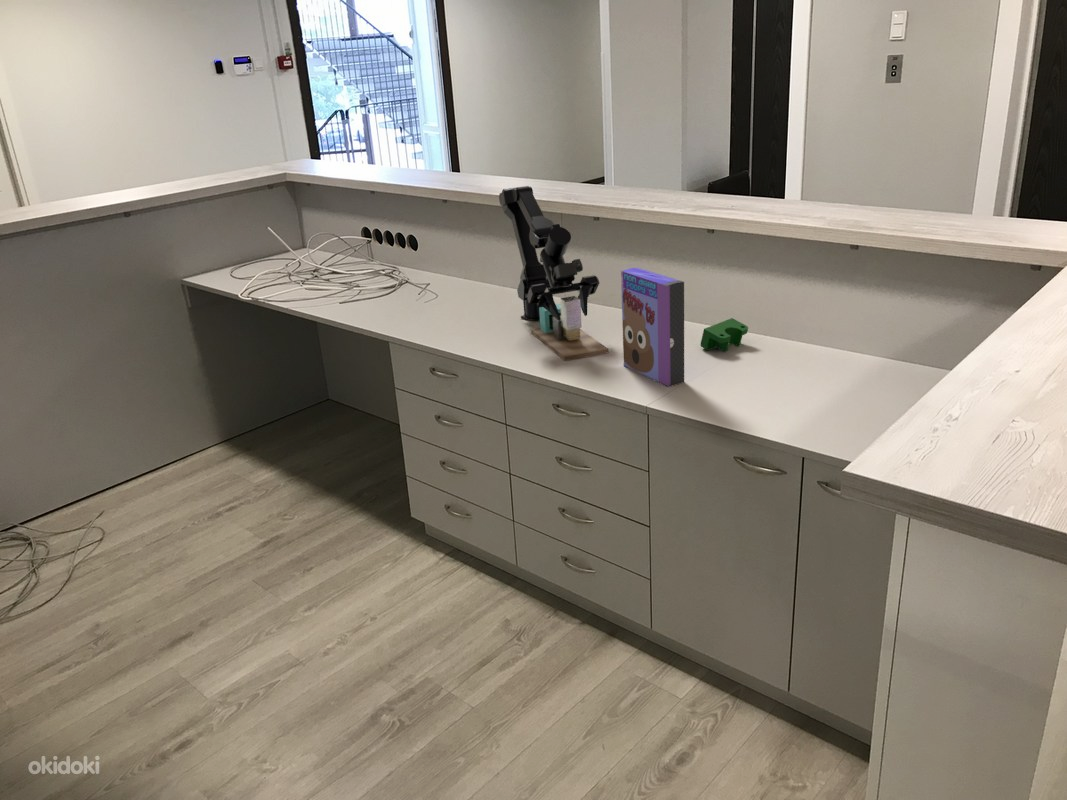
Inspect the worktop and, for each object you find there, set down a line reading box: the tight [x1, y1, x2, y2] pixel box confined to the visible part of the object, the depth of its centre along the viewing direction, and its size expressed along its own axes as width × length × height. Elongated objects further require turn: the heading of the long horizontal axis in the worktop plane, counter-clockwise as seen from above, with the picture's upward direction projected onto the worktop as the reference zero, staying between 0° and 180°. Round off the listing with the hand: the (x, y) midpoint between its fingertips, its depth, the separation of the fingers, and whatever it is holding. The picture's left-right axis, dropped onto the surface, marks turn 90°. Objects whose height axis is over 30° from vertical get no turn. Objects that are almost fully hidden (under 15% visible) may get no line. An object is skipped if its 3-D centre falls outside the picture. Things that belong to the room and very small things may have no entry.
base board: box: [530, 327, 610, 362], centre depth 233 cm, size 26×12×1 cm, turn 20°
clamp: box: [700, 317, 749, 353], centre depth 221 cm, size 12×6×9 cm, turn 124°
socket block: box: [539, 303, 561, 333], centre depth 240 cm, size 4×7×6 cm, turn 110°
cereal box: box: [620, 267, 685, 388], centre depth 203 cm, size 17×5×24 cm, turn 29°
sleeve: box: [553, 316, 567, 341], centre depth 233 cm, size 4×5×5 cm
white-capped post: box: [549, 295, 582, 341], centre depth 233 cm, size 16×4×10 cm, turn 20°
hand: (572, 317), depth 226 cm, fingers open, 7 cm apart
